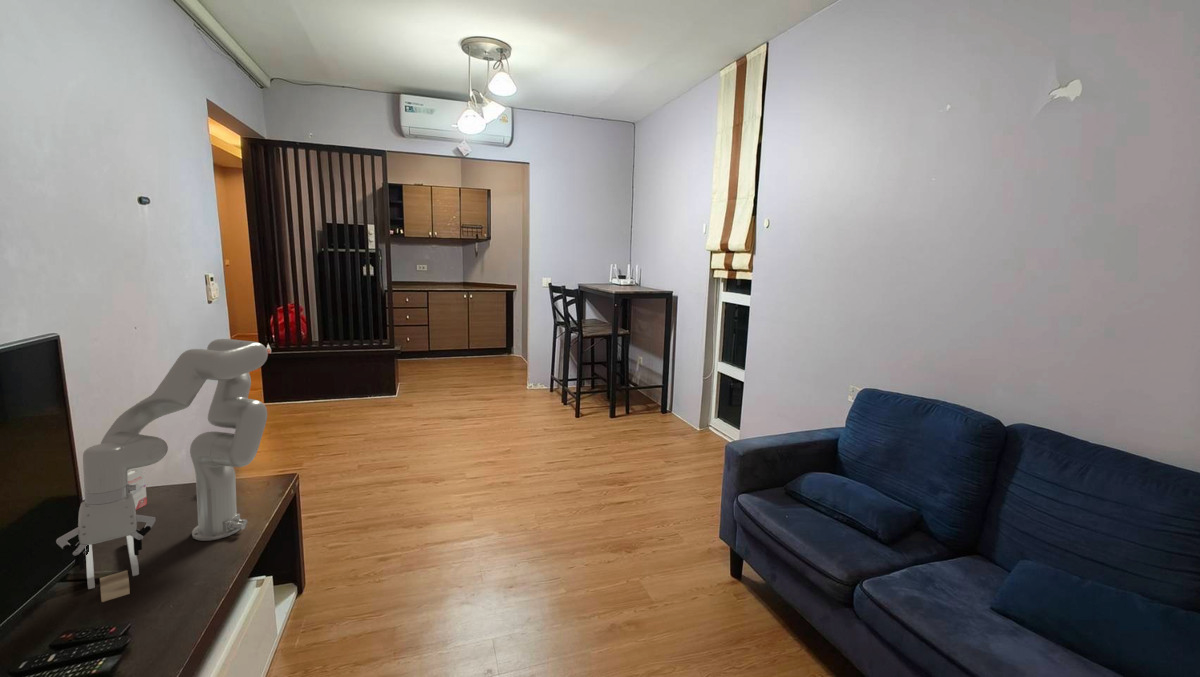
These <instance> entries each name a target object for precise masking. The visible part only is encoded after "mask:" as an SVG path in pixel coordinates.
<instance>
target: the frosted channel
mask: <svg viewBox="0 0 1200 677" xmlns="http://www.w3.org/2000/svg"><path fill="white" fill-rule="evenodd" d="M125 537H126V546H127V552H128V557H129V563H130V568H131V572H132V573H131V574H132V577H135V576H138V575H139V574H140V570H139V569H140V568H139V560H138V555H137V556H136V555H135V554H134V542H133V538H134V537H132V536H130V535H129V536H125ZM93 556H94V554H93V544H91V545H89V552H88V554H87V555H86V554H85V561H86V563H85V564H86V580H87V589H88V590H91V589H95V587H96V586H95V585H96V583H95V570H94V557H93ZM139 576H140V575H139Z"/></svg>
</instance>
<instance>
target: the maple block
mask: <svg viewBox="0 0 1200 677" xmlns="http://www.w3.org/2000/svg"><path fill="white" fill-rule="evenodd" d="M99 586H100V600H101V603H104V602H108V601H110V600H114V599H117V598H121V597H123V596H126V595H130V590H131V588H130V580H129V572H128V569H127V570H123V571H120V572H115V573H113V574H109V575H105V576H103V577H99Z"/></svg>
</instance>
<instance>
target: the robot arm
mask: <svg viewBox="0 0 1200 677" xmlns="http://www.w3.org/2000/svg"><path fill="white" fill-rule="evenodd" d="M268 356H269V353H268V349H267V348H266V346H265V345H264V344H262V343H260V342H257V341H253V340H252V341H251V340H241V339H233V338H219V339H214V340H212V341H211V342H209V344H208V345H207V348H205V349H202V348H191V349H188V350H185V351H183V352H182V353H181V354H180V355H179V356H178V357H177V359H176V360H175V361H174V364H173V365H171V367H170V369H169V370H168V372H167V374H166V375H165V377H164V378H163V380H162V381H161V382H160V384H159V385H158V386H157V388H156V389H155V390H154V392H153V393H152V394H151V395H149V396H148V397H146V398H144V399H142V400H140V401H139V402H137V403H136V404H134V405H132V406H131V407H130V408H128V409H126V410H125V411H124V412H122V413H121V414H120V415H119V416H118V417H117V418H116V419H115V421H114V422H113V423H112V425H111V426H110V427H109V429H108V430H107V432H106V433H105V434H104V436H103V438H102V440H101V441H100V443H99V444H96V445H92V446H89V447H88V448H86V449H85V450H84V451H83V453H82V467H83V468H82V469H83V484H84V485H83V487H84V501H82V502H81V503H80V506H79V508H78V509H79V510H78V517H77V518H78V520H77V522H78V523H77V526H78V527H76V528H74V529H72V530H70V531H69V532H67V533H65V534H63V535H61V536H59V537H58V538H56V540H55V542H56V544H57V545H58V546H59V547H60V548H61V549H62V550H63V551H64V552H66V553H69V554H72V556H74V566H75V567H79V571H83V570H84V569H85V564H84V563H85V561H84V559H85V558H84V549H86V546H87V545H91V544H92V545H95V544H100V543H103V542H108V541H111V540H116V539H120V538H125V537H126V536H129V535H130V536H132V537H133V542H134V554H135V555H136V556H137V557H138V556H139V554H140V552H139V551H141V550H143V541H142V540H143V539H144V537H145V536H147V534H148V533H149V532H150V531H151V529H152V527H153V526H154V524H155V523H156V517H155V516H149V515H142V514H137V512H136V511H137V510H135V503H134V499H133V496H132V494H131V493H130V491H133V490H136V485H129V484H128V474H127V471H128V470H129V469H133V468H138V467H143V468H144V467H148V466H151V465H154V464H157V463H158V462H160V461H161V460H163V459H164V458H165V456H166V455H167V453H168V449H169V446H168V444H167V442H166V441H165V440H164V439H163V438H161V437H158V436H154V435H145V434H140V433H141V432H142V430H143V429H145V428H146V426H148V425H149V424H150V423H152V422H153V421H155V420H156V419H159V418H162V417H164V416H167V415H170V414H172V413H173V414H174V413H176V412H180V411H182V410H185V409H187V408H188V407H190V406H191V404H192V403H193V401H194V400H195V398H196V397H197V394H198V393H199V392H200V390H201V389H202V387H203V385H204V384H205V383H206V381H207V380H209V381H217V385H216V388H215V391H214V395H213V396H212V401H211V402H210V403H211V404H210V406H209V410H208V412H207V413H208V414H207V421H208V422H209V424H210V425H212V426H213V427H217V428H218V427H219V428H225V429H232V430H234V433H230V432H223V431H205V432H203V433H201V434H199V435H197V436H196V437H194V438H193V441H192V442H191V444H190V448H189V453H190V458H191V462H192V464H193V469H194V473H195V474H194V475H195V485H196V487H195V488H196V489H195V490H196V507H197V511H196V512H197V525H196V526H195V527H194V528H193V529H192V531H191V537H192V539H195V540H197V541H203V542H206V541H216V540H221V539H223V538H228V537H230V536H232V535H234V534H236V533H238V532H239V531H242V530H243V531H244V529H246V525H247V523H248V520H247V519H245V518H244V519H242V518H241V513H237V512H238V510H237V489H236V488H237V486H236V483H237V482H236V480H237V479H236V471H235V468H242V467H245V466H247V465H249V464H251V462H252V461H253V460H254V459H255V457H256V455H257V453H258V450H259V448H260V444H261V441H262V438H263V435H264V434H263V433H264V431H265V427H266V424H267V420H268V409H267V407H266V404H264V403H263V402H262V401H260V400H257V399H254V398H253V399H252V398H249V394H250V391H251V387H252V379H251V375H250V373H251V372H254V371H256V370H257V369H259V368H261V367H262V366H263V365H265V363H266V362H267V360H268ZM138 522H139V523H146V524H145V525H144V526H143V527H142V528H140V529H138V528H137V527H138ZM77 535H78V540H79V541H78V542H76V544H73V543H70V542H68V541H69V540H71V539H73V538H75V537H76V536H77Z"/></svg>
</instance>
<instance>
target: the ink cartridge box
mask: <svg viewBox="0 0 1200 677" xmlns="http://www.w3.org/2000/svg"><path fill="white" fill-rule="evenodd" d="M127 474H128V484H129V485H136V490H133V491H130V493H131V494H132V496H133V499H134V503H135V510H136V511H137V510H139V509H141V508H143V507H145V506H147V505H148V497H147V487H146V486H147V485H146V474H145V468H144V467H138V468H133V469H129V470H128V471H127Z"/></svg>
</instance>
